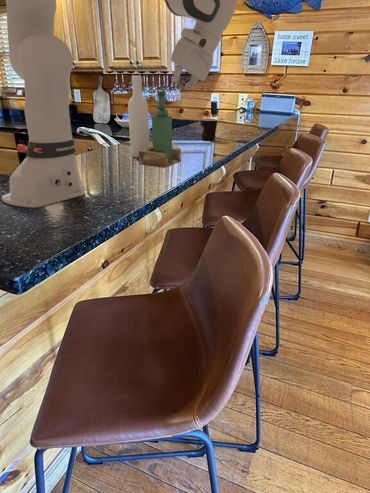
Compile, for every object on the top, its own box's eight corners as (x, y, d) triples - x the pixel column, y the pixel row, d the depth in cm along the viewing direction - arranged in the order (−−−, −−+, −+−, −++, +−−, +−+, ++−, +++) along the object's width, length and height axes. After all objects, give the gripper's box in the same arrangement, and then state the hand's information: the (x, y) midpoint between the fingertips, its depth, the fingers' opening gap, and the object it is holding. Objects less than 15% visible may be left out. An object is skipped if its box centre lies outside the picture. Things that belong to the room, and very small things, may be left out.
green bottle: (165, 162, 133) (163, 91, 122) (153, 161, 135) (151, 91, 125) (172, 160, 137) (171, 91, 127) (160, 158, 139) (158, 90, 129)
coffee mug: (217, 141, 182) (218, 120, 177) (200, 141, 182) (200, 120, 178) (215, 138, 192) (216, 118, 188) (199, 137, 192) (200, 118, 188)
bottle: (146, 158, 144) (143, 75, 131) (128, 157, 146) (122, 75, 133) (152, 154, 151) (149, 75, 138) (134, 153, 153) (130, 75, 140)
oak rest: (164, 167, 130) (164, 153, 128) (139, 164, 134) (138, 150, 132) (180, 161, 139) (180, 148, 137) (156, 158, 144) (156, 145, 142)
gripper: (207, 49, 122) (187, 88, 127) (180, 26, 104) (158, 72, 109) (221, 58, 120) (200, 97, 125) (197, 35, 102) (174, 82, 107)
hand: (181, 85), depth 117 cm, fingers open, 8 cm apart
